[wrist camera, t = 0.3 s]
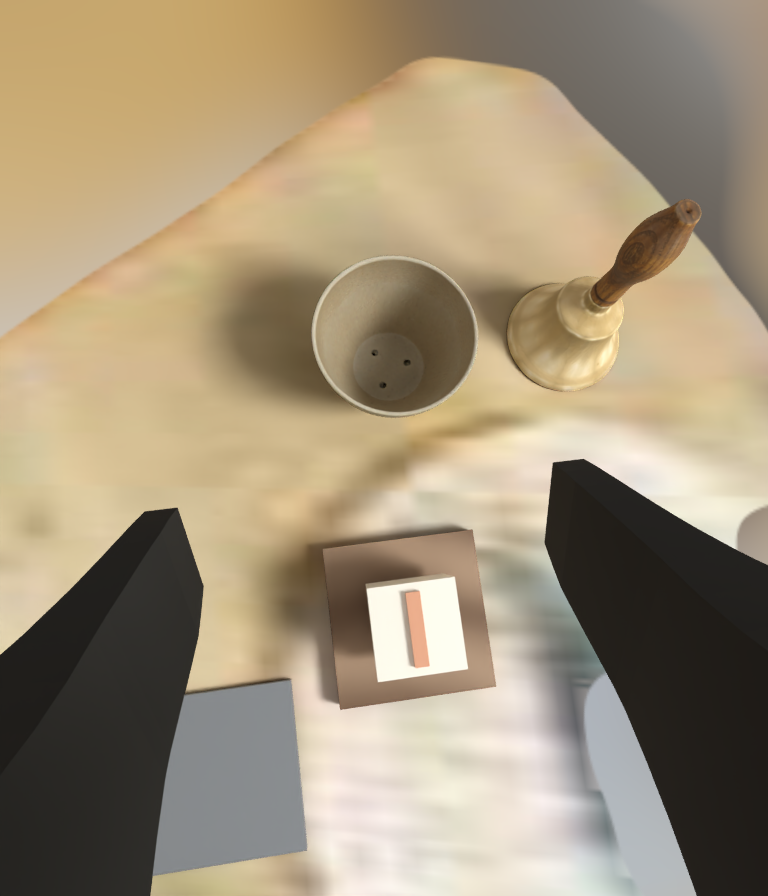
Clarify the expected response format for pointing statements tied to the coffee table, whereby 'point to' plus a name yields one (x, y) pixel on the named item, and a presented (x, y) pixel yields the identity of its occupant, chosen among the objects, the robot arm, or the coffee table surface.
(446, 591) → the cream cube
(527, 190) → the coffee table surface
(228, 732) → the mat
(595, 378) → the hand bell
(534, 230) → the coffee table surface
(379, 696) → the post stand
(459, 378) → the flower pot
